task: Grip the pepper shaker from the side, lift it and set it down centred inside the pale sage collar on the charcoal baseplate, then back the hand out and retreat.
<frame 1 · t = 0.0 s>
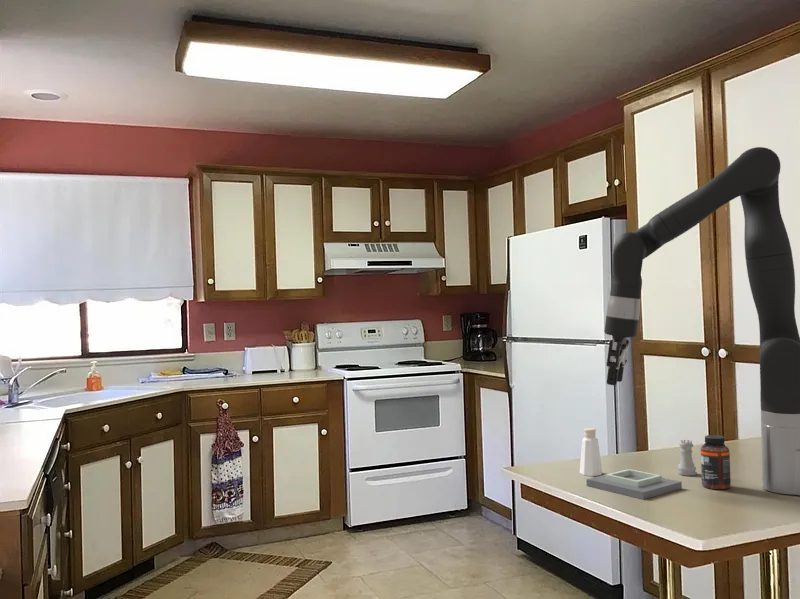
hand: (614, 382, 171), 22 cm above the table, tool pointing down, fingers open, 8 cm apart
pepper shaker: (590, 474, 174), on the table
supplement bottle: (716, 487, 159), on the table
baseplate: (633, 487, 160), on the table
rook chess piece: (686, 474, 171), on the table
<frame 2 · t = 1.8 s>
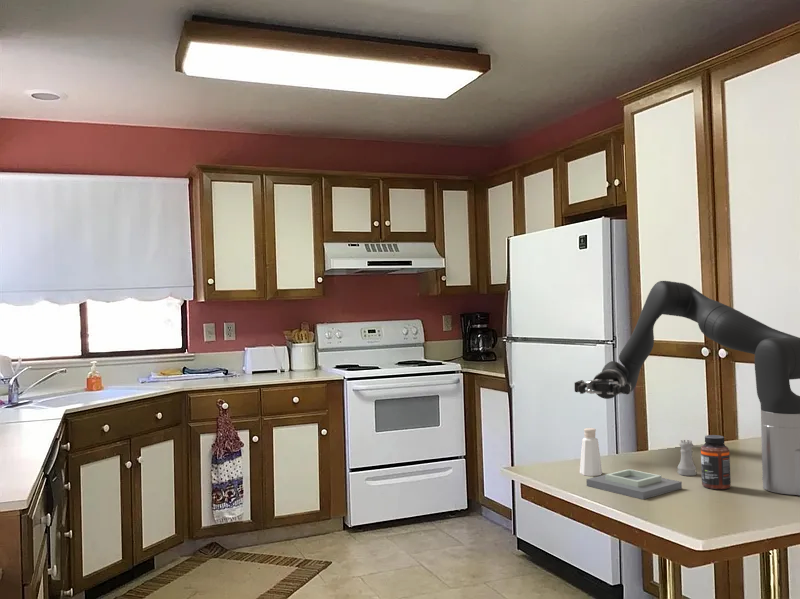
hand: (597, 390, 184), 19 cm above the table, tool horizontal, fingers open, 8 cm apart
nothing on the table moved.
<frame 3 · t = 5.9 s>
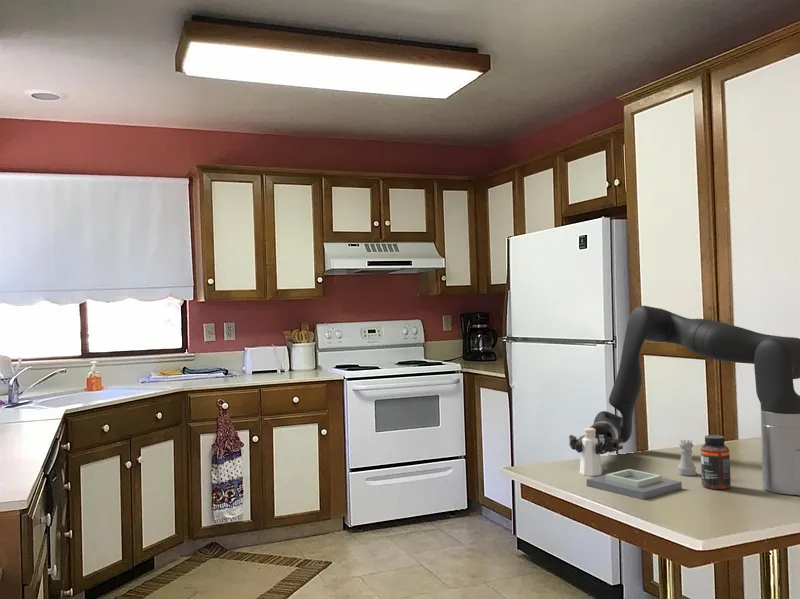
hand: (587, 449, 171), 7 cm above the table, tool horizontal, fingers closed on pepper shaker, 3 cm apart
pepper shaker: (590, 474, 174), on the table, touching gripper
everything else where it was.
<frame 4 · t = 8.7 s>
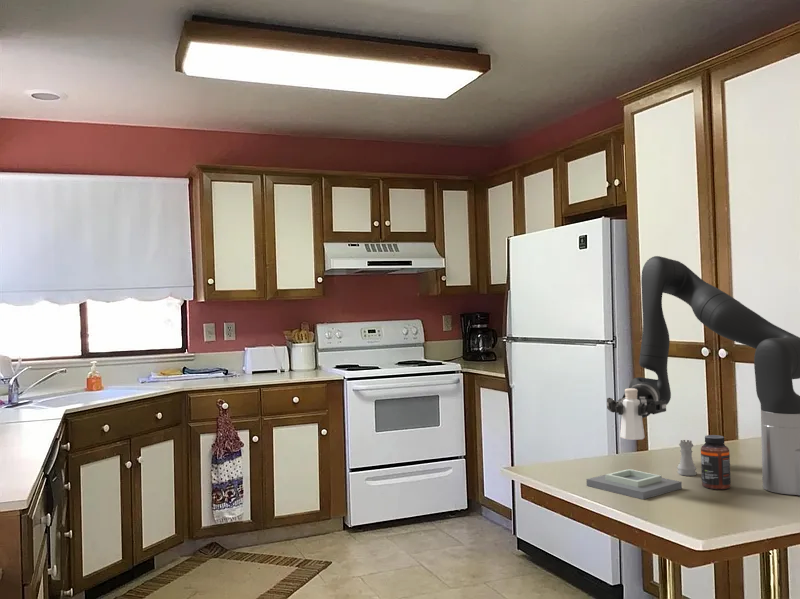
hand: (629, 410, 158), 18 cm above the table, tool horizontal, fingers closed on pepper shaker, 3 cm apart
pepper shaker: (632, 438, 160), point 11 cm above the table, touching gripper
everything else where it was.
when the fingers open (8 cm above the table, at t = 11.2 s): pepper shaker stays where it is, resting on baseplate.
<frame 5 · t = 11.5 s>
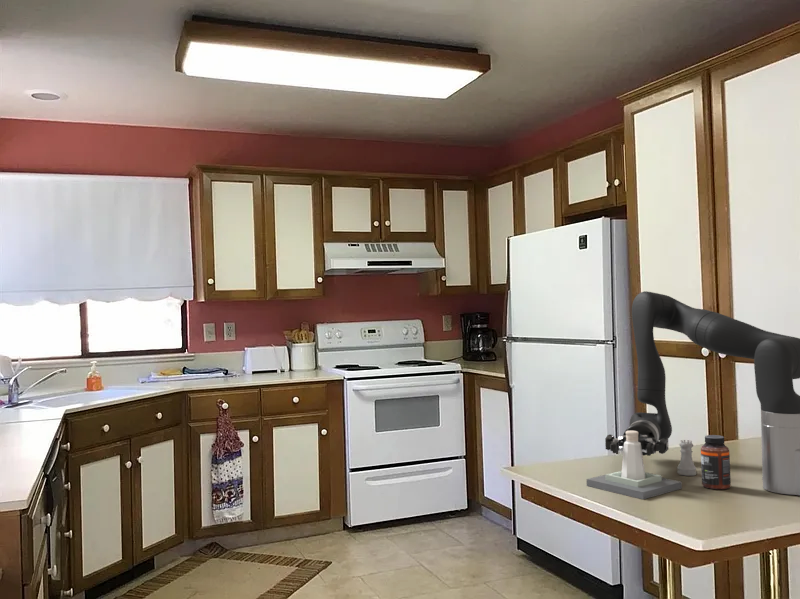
hand: (631, 449, 158), 9 cm above the table, tool horizontal, fingers open, 6 cm apart
pepper shaker: (633, 481, 160), point 1 cm above the table, touching baseplate
everything else where it was.
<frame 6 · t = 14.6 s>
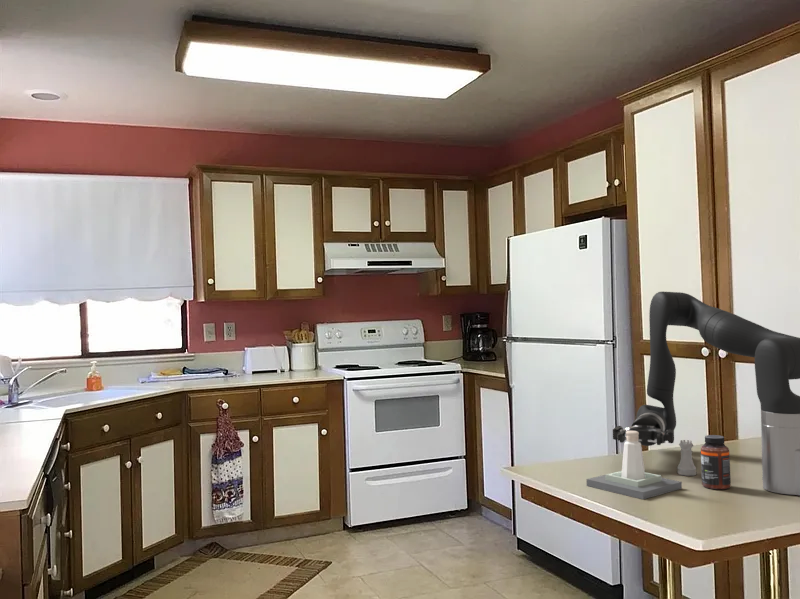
hand: (639, 439, 170), 9 cm above the table, tool horizontal, fingers open, 8 cm apart
nothing on the table moved.
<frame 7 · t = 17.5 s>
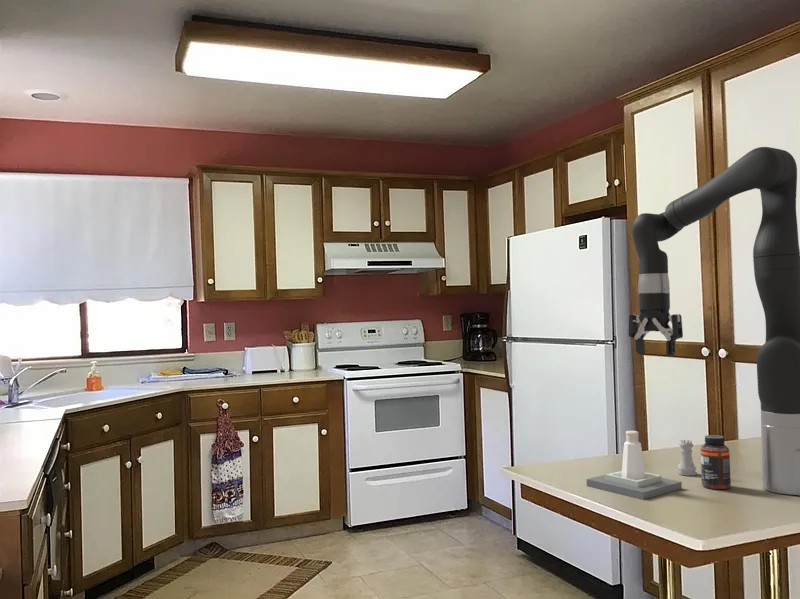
hand: (655, 355, 181), 28 cm above the table, tool pointing down, fingers open, 8 cm apart
nothing on the table moved.
at the end: pepper shaker 0.1 cm off-centre on the baseplate, point 1.3 cm above the baseplate's base; pepper shaker tilted 0°; the gripper is holding nothing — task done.
